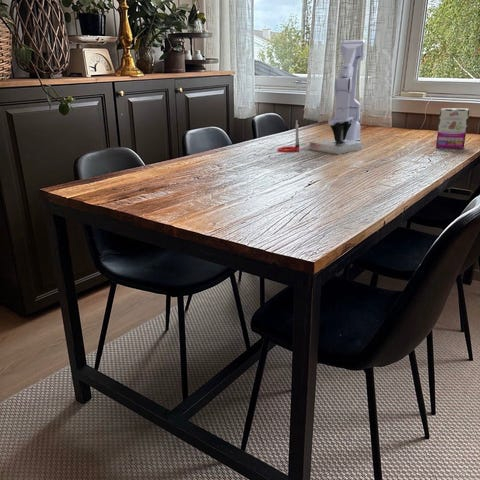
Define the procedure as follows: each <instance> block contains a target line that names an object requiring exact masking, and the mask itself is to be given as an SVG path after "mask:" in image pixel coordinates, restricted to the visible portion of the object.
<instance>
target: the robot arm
mask: <svg viewBox="0 0 480 480" xmlns="http://www.w3.org/2000/svg"><path fill="white" fill-rule="evenodd" d="M365 51H366V41H365V39H354V40H353V39H352V40H350V39H349V40H348V39H347V40H345V39H344V40H342V41H341V45H340V54H341V58H342V59H343V64H342V65H341V66H340V67H339V72H338V76H337V79H335V81H334V97H335V100H334V101H335V103H334V117H333V118H332V119H329V120H328V121H327V125H328V126H330V128H331V129H332V132H333V138H335V141H340V138H341V132H342V129H343V126H344V133H343V140H345V139H346V140H353V141H360V140H362V138H361V123H360V122H359V120H361V111H362V109H361V107H362V105H361V103H360V102H359V101H358V100H357V99H356V95H357V80H358V71H359V70H358V69H359V65H360V62H361V61H363V60H364V57H365Z"/></svg>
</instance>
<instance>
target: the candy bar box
mask: <svg viewBox="0 0 480 480" xmlns="http://www.w3.org/2000/svg"><path fill="white" fill-rule="evenodd" d="M469 116H470V109H469V108H461V107H459V108H458V107H457V108H456V107H455V108H451V107H450V108H449V107H448V108H447V107H445V108H442V107H441V108H440V111H439V120H438V127H437V135H436V141H435V148H436V149H451V150H453V149H454V150H458V149H459V150H463V149H464V148H465V141H466V135H467V128H468V123H469V122H468V121H469Z"/></svg>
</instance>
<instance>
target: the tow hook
mask: <svg viewBox="0 0 480 480" xmlns="http://www.w3.org/2000/svg"><path fill="white" fill-rule="evenodd" d="M298 121H299V120H298V119H296V120H295V146H281V147H278V148H277V151H278V152H281V153H289V152H290V153H291V152H300V138H299V137H300V136H299V124H298Z"/></svg>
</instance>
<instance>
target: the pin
mask: <svg viewBox="0 0 480 480" xmlns="http://www.w3.org/2000/svg"><path fill="white" fill-rule="evenodd" d="M343 133H344V126H343V129H342V132H341V138H340V141H336V143H337V144H343Z"/></svg>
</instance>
